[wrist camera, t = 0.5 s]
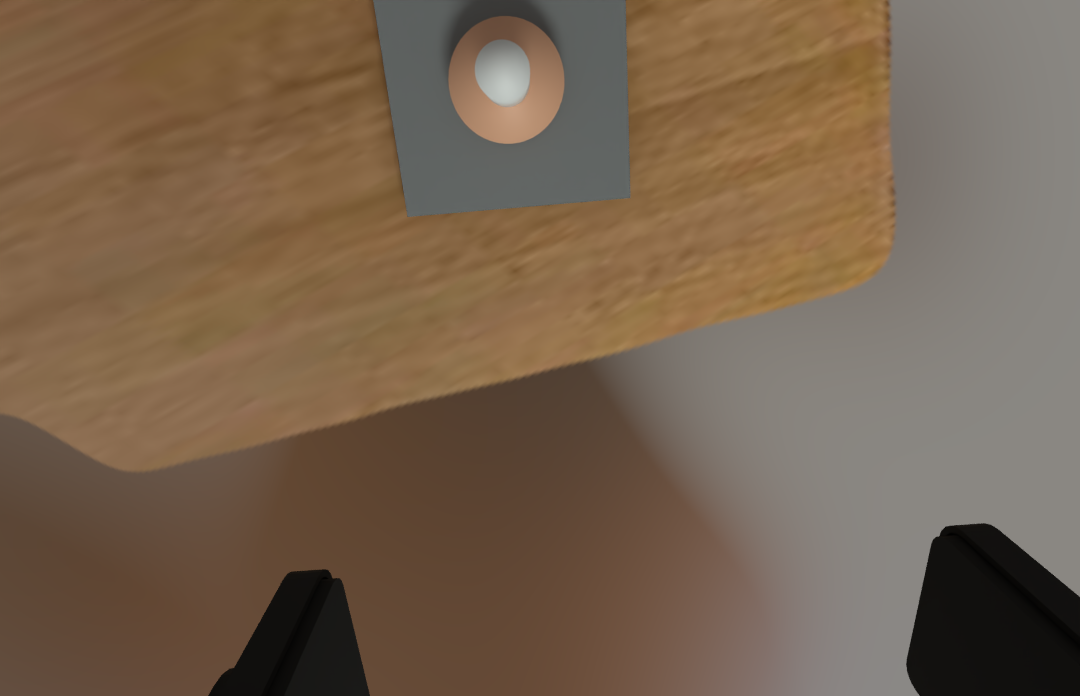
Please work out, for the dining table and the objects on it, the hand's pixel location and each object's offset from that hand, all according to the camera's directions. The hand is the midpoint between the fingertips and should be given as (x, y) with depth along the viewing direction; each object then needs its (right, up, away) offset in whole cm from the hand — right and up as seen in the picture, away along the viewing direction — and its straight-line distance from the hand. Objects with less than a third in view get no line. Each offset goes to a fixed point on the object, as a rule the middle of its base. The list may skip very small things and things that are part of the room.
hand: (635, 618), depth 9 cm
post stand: (-3, +19, +23) cm, 30 cm away
